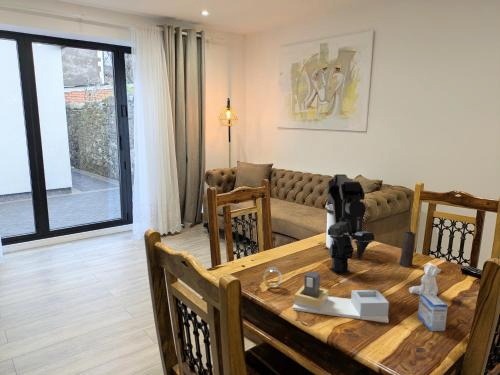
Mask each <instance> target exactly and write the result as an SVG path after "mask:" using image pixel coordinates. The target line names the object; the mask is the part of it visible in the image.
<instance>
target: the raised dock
mask: <svg viewBox="0 0 500 375" xmlns="http://www.w3.org/2000/svg"><path fill="white" fill-rule="evenodd" d="M350 293H351V295H350V299H351V303H352V305H353V306H354V308H355V309H356V311H357V312H358V314H359V315H360V319H359V320H362V319H361V318H362V316H388V317H389V305H390V303H389V301H388V300H387V299H386V298H385V296H384V295H383V294H382V293H381V292H380V290H378V289H358V290H356V289H353V290H351V292H350Z"/></svg>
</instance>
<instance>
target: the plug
mask: <svg viewBox="0 0 500 375" xmlns="http://www.w3.org/2000/svg"><path fill="white" fill-rule="evenodd" d="M320 284H321V273H319V272H315V271H311V270H308V271H307V272H306V273H305V274H304V284H303V285H304V295H306V296H310V297H314V298H318V297H319V290H320V288H321V285H320Z"/></svg>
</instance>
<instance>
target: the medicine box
mask: <svg viewBox="0 0 500 375" xmlns="http://www.w3.org/2000/svg"><path fill="white" fill-rule="evenodd" d="M417 310H418V312H417V318H418V320H419V321H420V322H421V323H423V325H424V326H426V327H427V328H428V329H429V330H430V331H431V332H444V331H446V323H447V313H448V304H447V303H446V302H445V301H443V300H442V299H441V298H440V297H439V296H437V295H434V294H433V293H420V295H419V303H418V309H417Z"/></svg>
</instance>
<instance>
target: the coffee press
mask: <svg viewBox="0 0 500 375" xmlns="http://www.w3.org/2000/svg"><path fill="white" fill-rule="evenodd" d="M325 209H326V227H325V228H326V230H325V244H323V246H322V248H323V247H327V248H328V250H329V249H330V246H331V244H332V241H333V238H331V237H330V236H331V235H328V229H329V227H330V226H332V225H334V213H333V203H332V202H331V201H330V199H329V197H328V198H327V200H326V204H325ZM358 218H361V221H358V229H361V230H360V232H363V227H364V226H363V223H364V215H363V216H361V217H358ZM347 233H348V232H347ZM349 237H350V238H351V244H352V245H353V240H354V241H356V239H355V237H351V236H349ZM353 253H355V250H353Z"/></svg>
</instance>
